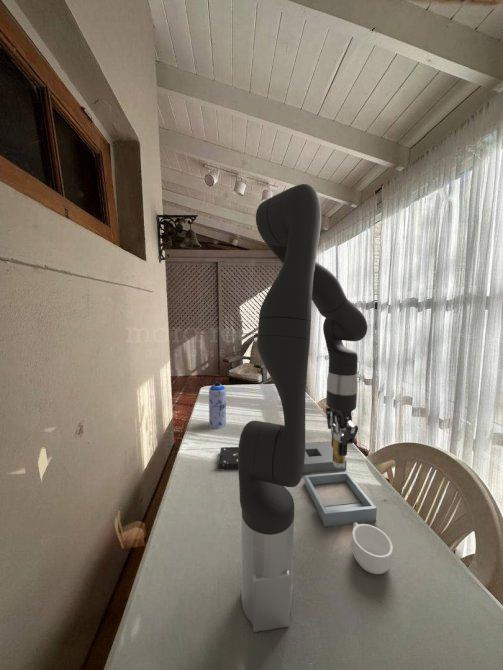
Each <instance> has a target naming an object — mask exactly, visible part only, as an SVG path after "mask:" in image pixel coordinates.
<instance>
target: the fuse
mask: <svg viewBox="0 0 503 670" xmlns="http://www.w3.org/2000/svg"><path fill="white" fill-rule="evenodd" d="M343 435H344V434H342V438H343ZM338 441H339V440H338V433H337V432H336V431H335V432H334V435H333V459H332V465H333V466H334V467H335V468H337V469H343V468H344V467H345V459H346V456H339V454H338Z"/></svg>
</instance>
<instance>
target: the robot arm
mask: <svg viewBox="0 0 503 670" xmlns="http://www.w3.org/2000/svg"><path fill="white" fill-rule="evenodd" d="M255 224H256V225H255V226H256V227H257V231H258V233H259V235H260V237H261V239H262V240H263V241H264V243H265V244H266V245H267V247H268V248H269V249H270V251H271V252H272V254H273V255H275V256H276V258H278V259H279V261H280V262H281V263H282V266H281V268H280V269H279V272H278V274H277V276H276V278H275V280H274V281H273V282H272V284H271V286H270V288H269V290H268V292H267V294H266V295H265V297H264V300H263V301H262V303H261V307H260V308H259V309H260V310H259V316H258V327H257V338H256V339H257V340H256V341H257V342H256V346H257V347H256V348H257V351H258V354H259V357H260V359H261V360H262V364H263V365H264V367H265V369H266V370H267V373H268V375H269V376H270V378H271V380H272V382H273V384H274V386H275V389H276V390H277V393H278V396H279V399H280V402H281V406H282V411H283V421H284V423H283V424H284V425H283V424H280V423H279V424H278V423H273V422H268V421H267V422H266V421H260V420H250V421H249V422H247V423H246V424H245V425H244V427H243V429H242V431H241V433H240V438H239V442H238V446H237V447H238V469H237V470H238V471H237V472H238V486H239V487H238V488H239V490H238V491H239V504H240V508H241V555H240V556H241V557H240V559H241V562H240V563H241V565H240V566H241V569H240V570H241V571H240V572H241V575H240V576H241V579H240V580H241V581H240V582H241V586H240V587H241V590H240V593H241V594H240V595H241V600H240V601H241V607H242V610H243V613H244V615H245V617H246V618H247V619H248V621H249V622H250V623H251V625H252V630H253V631H252V632H254V633H257V632H263V631H269V630H275V629H282V628H286V627H290V624H291V622H290V621H291V619H290V618H291V611H292V605H293V571H294V568H293V567H294V533H295V531H294V529H295V501H294V497H293V496H292V493H291V492H290V491H289V490H288V488H295V487H297V486H298V485H299V484H300V482H301V481H302V478H303V474H304V473H303V470H304V461H305V444H306V392H307V375H308V364H309V355H310V353H309V352H310V343H311V329H312V327H311V326H312V305H313V304H314V305H315V307H316V309H317V310H318V312H319V314H320V315H321V316H322V317H323V318H325V319H324V320H323V324H322V325H323V326H322V332H323V335H324V336H323V337H324V340H325V341H324V342H325V344H326V349H327V353H328V371H327V378H326V396H325V397H326V399H325V401H326V402H325V403H326V407H325V416H326V422H327V428H328V429H329V430H330V434H331V443H332V447H333V435H334V432H335V431H336V432H337V433H338V440H339V441H338V454H339V456H345V457H347V454H348V445H351V444H354V442H355V438H356V437H357V433H358V432H359V431H358V430H359V427H358V425H357V424H356V425H354V424H353V422H352V420H353V417H352V412H353V411H355V409H356V408H357V398H358V361H359V360H358V354H357V352H356V351H354V350H352V349H350V348H348V347H346V346H345V345H344V342H343V341H347V342H359V341H361V340H363V339H364V338H365V337H366V335H367V332H368V322H367V319H366V317H365V315H364V314H363V312H362V311H361V310H360V309H359V308H358V307H356V305H355V304H354V303H353V302H352V301H351V300H350V299H348V297H347V295H346V294H345V291H344V289H343V287H342V285H341V283H340V281H339V279H338V278H337V277H336V276H335V274H333V273H332V272H331V271H330V270H329V269H328V268H326V267H325V266H323V265H322V264H321V263H319V262H317V255H318V254H317V253H318V248H319V243H320V235H321V229H322V204H321V200H320V197H319V194H318V193H317V190H316V189H315V187H313V186H312V185H310V184H307V183H301V184H297V185H295V186H292V187H289V188H287V189H284V190H283V191H280V192H279V193H277V194H275V195H273V196H271V197H269V198H268V199H265V200H264V201H262V202H261V203H259V205H258V207H257V209H256V212H255ZM312 302H313V304H312ZM342 434H344V435H343V438H342Z"/></svg>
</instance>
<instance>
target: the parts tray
mask: <svg viewBox="0 0 503 670" xmlns="http://www.w3.org/2000/svg"><path fill="white" fill-rule="evenodd" d="M344 482H346V484H347V485H348V486H349V487H350V489H351V490H352V491H353V493H354V494H355V496H356V497H357V498H358V499H359V500H360V502H359V501H358V502H350V503H349V502H348V503H341V504H333V505H332V504H331V505H324V503H323V501H322V499H321V497H320V495H319V494H318V492H317V491H316V488H315V486H314V485H323V484H324V485H325V484H334V483H344ZM303 484H304V485H305V488H306V489H307V492H308V493H309V496H310V497H311V500H312V501H313V503H314V505H315V507H314V508H315V511H316V513H317V515H318V517H319V519H320V520H321V523H322V525H323V527H324V528H326V527H327V528H329V527H336V526H343V525H353V524H354V523H357V524H364V523H369V522H376V521H377V512H378V511H377V510H378V508H377V506H376V504H374V503H373V501H372V500H371V499H370V498H369V497H368V495H367V494H366V493H365V491H363V489H362V488H361V487H360V485H359V484H358V483H357V482H356V480H355V479H354V478H353V476H352V475H350V473H349V472H348V471H341V472H331V473H330V472H329V473H318V474H316V473H315V474H305V475H304V482H303Z"/></svg>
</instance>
